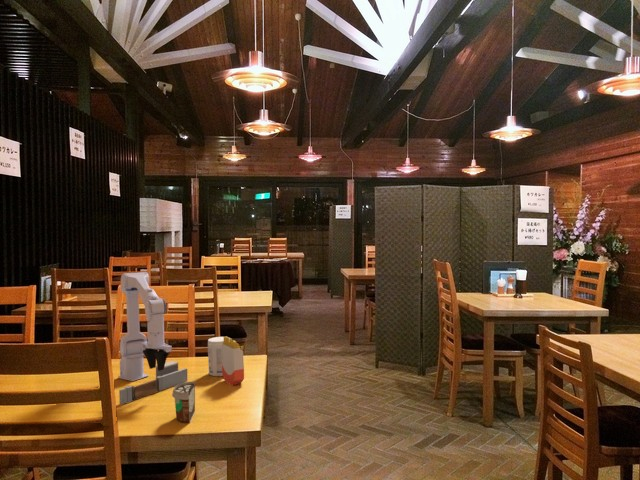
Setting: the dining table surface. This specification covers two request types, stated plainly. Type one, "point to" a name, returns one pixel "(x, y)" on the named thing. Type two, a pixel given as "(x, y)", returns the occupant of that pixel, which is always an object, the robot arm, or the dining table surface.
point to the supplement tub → (215, 355)
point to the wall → (162, 383)
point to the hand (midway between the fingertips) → (156, 369)
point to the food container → (184, 401)
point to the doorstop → (167, 368)
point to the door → (144, 389)
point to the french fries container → (232, 362)
